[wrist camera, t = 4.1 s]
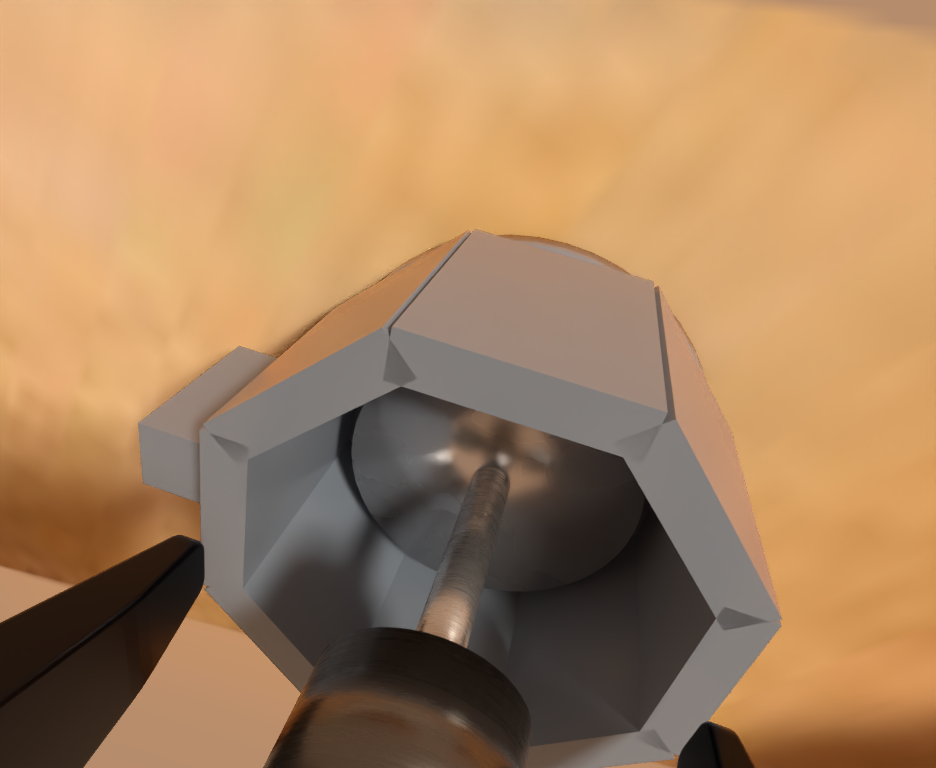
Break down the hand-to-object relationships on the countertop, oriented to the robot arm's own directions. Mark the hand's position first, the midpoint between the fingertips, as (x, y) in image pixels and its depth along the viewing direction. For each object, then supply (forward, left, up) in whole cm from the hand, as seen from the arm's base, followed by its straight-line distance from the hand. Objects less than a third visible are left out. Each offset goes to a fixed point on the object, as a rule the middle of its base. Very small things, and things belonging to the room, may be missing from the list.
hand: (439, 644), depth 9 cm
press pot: (0, 0, -6) cm, 6 cm away
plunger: (0, 0, -5) cm, 5 cm away
